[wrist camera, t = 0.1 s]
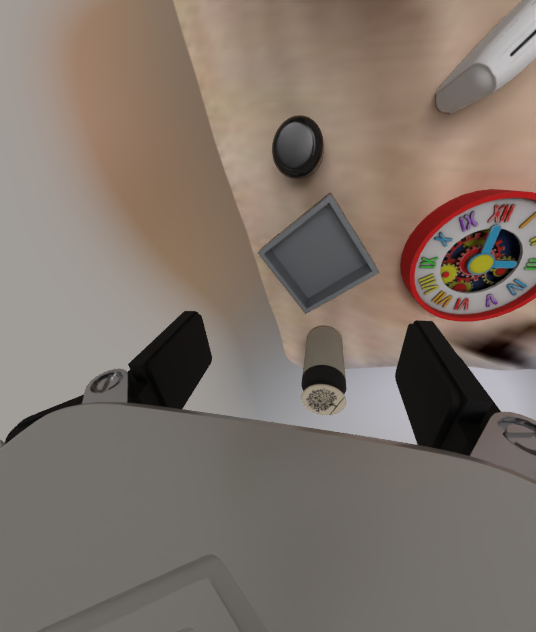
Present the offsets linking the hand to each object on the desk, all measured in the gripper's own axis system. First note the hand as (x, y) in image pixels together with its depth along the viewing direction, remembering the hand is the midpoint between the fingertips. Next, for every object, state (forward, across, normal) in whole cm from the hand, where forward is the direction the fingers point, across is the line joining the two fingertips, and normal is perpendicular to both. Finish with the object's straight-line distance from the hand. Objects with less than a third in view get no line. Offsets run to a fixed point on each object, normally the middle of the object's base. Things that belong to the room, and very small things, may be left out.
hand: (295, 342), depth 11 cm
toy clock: (+38, -25, +7) cm, 46 cm away
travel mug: (+37, -2, +27) cm, 46 cm away
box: (+37, 0, +6) cm, 38 cm away
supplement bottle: (+37, +3, -10) cm, 39 cm away
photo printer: (+37, -19, -17) cm, 45 cm away
